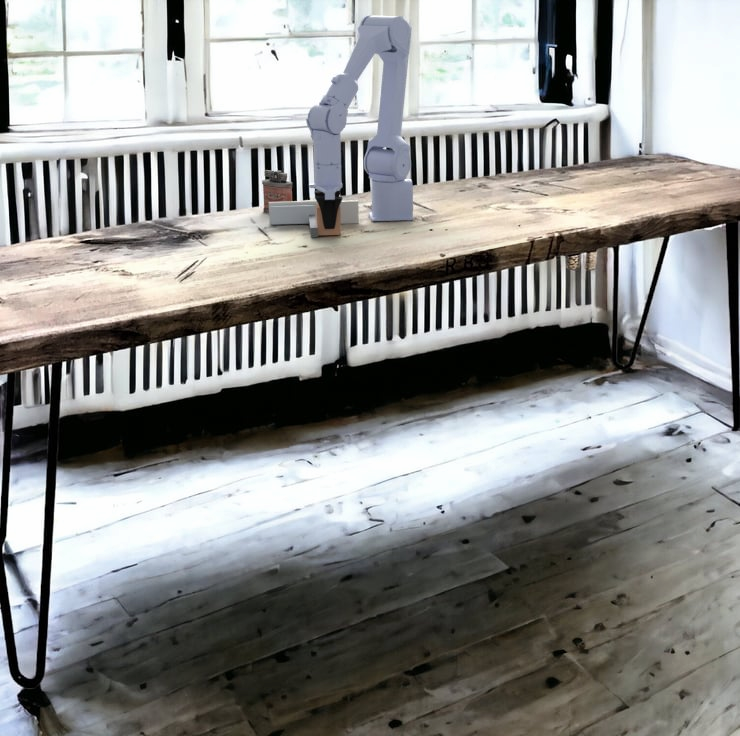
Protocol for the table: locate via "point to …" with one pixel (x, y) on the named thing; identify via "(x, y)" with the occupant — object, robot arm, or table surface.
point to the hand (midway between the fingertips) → (329, 226)
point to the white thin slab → (346, 209)
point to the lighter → (276, 188)
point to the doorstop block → (321, 226)
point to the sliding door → (295, 216)
